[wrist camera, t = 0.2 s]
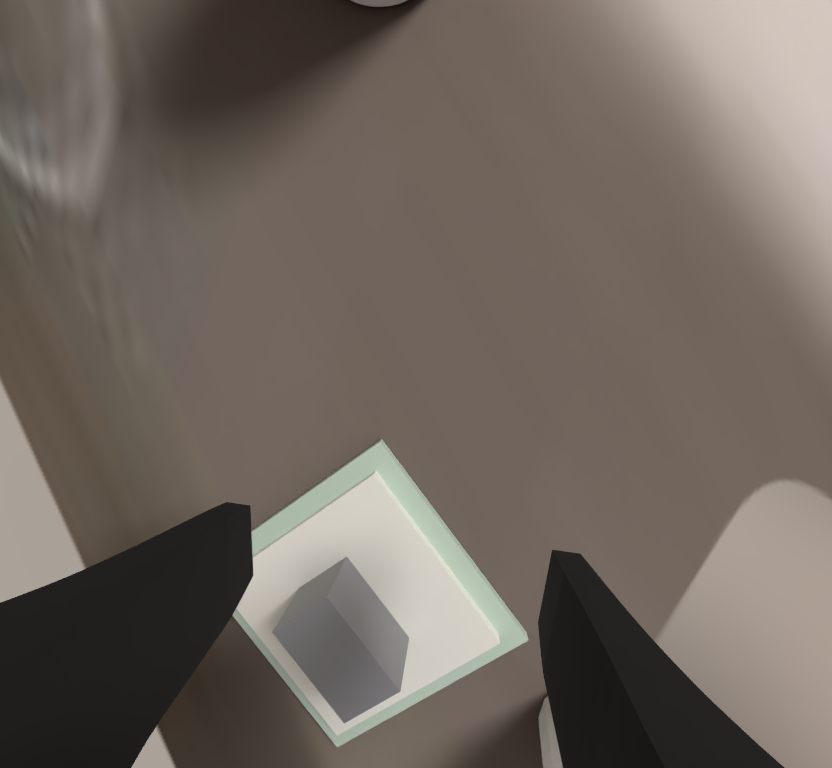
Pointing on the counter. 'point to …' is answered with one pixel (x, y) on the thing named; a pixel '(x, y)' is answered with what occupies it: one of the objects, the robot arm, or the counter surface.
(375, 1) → the supplement bottle
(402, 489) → the mat
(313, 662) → the lid
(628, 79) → the counter surface
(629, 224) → the counter surface
